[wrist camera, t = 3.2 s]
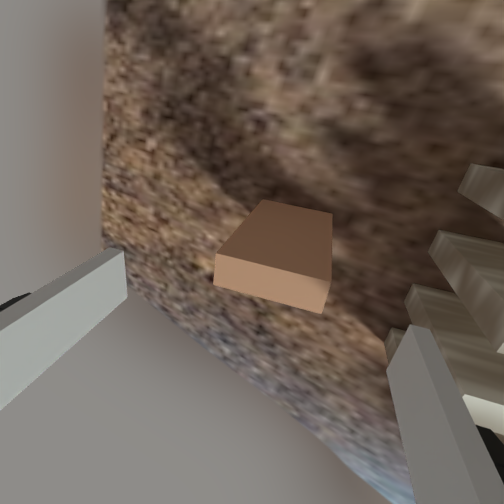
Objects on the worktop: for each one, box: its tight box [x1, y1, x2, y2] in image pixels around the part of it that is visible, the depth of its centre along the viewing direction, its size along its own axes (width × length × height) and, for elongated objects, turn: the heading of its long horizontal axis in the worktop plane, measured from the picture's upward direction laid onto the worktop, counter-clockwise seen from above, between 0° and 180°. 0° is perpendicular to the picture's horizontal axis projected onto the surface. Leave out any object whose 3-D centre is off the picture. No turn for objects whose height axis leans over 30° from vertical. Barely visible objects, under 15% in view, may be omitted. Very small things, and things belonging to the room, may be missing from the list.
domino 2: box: [404, 283, 504, 435], centre depth 19 cm, size 2×6×11 cm, turn 82°
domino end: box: [213, 199, 333, 314], centre depth 19 cm, size 2×6×11 cm, turn 82°
